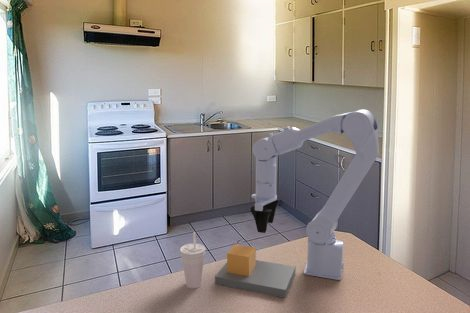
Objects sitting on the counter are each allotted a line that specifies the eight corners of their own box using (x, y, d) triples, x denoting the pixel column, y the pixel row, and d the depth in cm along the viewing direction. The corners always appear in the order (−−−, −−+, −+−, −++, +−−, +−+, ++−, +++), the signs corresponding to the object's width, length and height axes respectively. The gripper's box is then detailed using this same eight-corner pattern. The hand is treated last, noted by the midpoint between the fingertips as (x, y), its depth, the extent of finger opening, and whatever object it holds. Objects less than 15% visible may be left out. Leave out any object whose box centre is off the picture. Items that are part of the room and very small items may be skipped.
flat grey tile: (295, 273, 98) (295, 255, 97) (285, 297, 87) (285, 277, 86) (231, 262, 104) (231, 245, 103) (215, 284, 93) (214, 264, 92)
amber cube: (255, 265, 98) (255, 247, 97) (248, 276, 93) (248, 256, 92) (235, 262, 100) (234, 244, 99) (227, 272, 95) (227, 253, 94)
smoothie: (202, 292, 89) (201, 238, 87) (177, 289, 90) (175, 236, 88) (209, 279, 95) (208, 228, 93) (185, 276, 97) (184, 226, 94)
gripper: (259, 173, 111) (259, 216, 113) (243, 186, 97) (243, 234, 100) (282, 175, 108) (281, 219, 111) (269, 188, 95) (269, 238, 97)
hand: (265, 227), depth 105 cm, fingers open, 7 cm apart
